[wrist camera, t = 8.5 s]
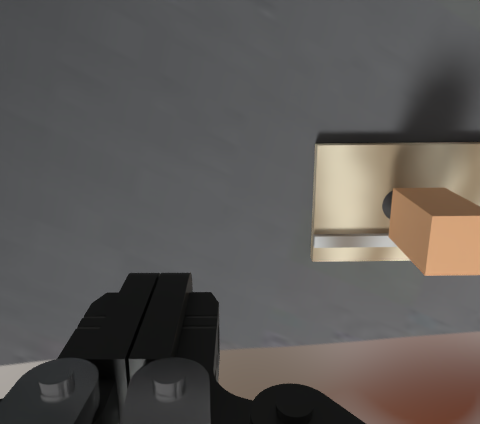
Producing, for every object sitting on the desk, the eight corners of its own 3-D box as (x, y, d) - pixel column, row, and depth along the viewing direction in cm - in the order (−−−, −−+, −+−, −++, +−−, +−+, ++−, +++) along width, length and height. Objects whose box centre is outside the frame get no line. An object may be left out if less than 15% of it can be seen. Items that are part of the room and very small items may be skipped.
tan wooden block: (381, 229, 38) (424, 275, 29) (385, 182, 36) (432, 216, 28) (429, 228, 38) (486, 274, 29) (434, 182, 36) (496, 215, 28)
